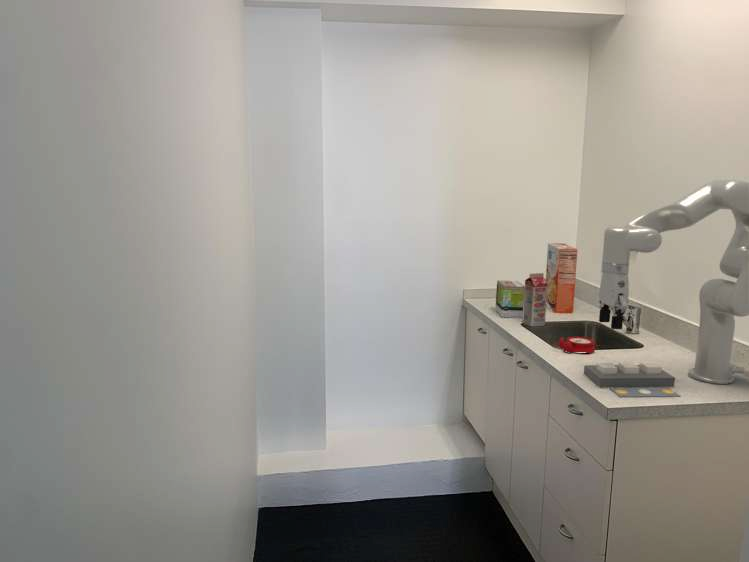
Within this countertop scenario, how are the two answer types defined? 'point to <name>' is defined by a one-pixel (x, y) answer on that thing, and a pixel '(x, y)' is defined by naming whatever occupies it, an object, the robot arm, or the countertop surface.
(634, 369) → the key middle
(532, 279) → the juice carton
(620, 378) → the button board
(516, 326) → the countertop surface
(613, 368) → the key
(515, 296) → the tea box
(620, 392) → the pattern card
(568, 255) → the pasta box
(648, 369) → the key
